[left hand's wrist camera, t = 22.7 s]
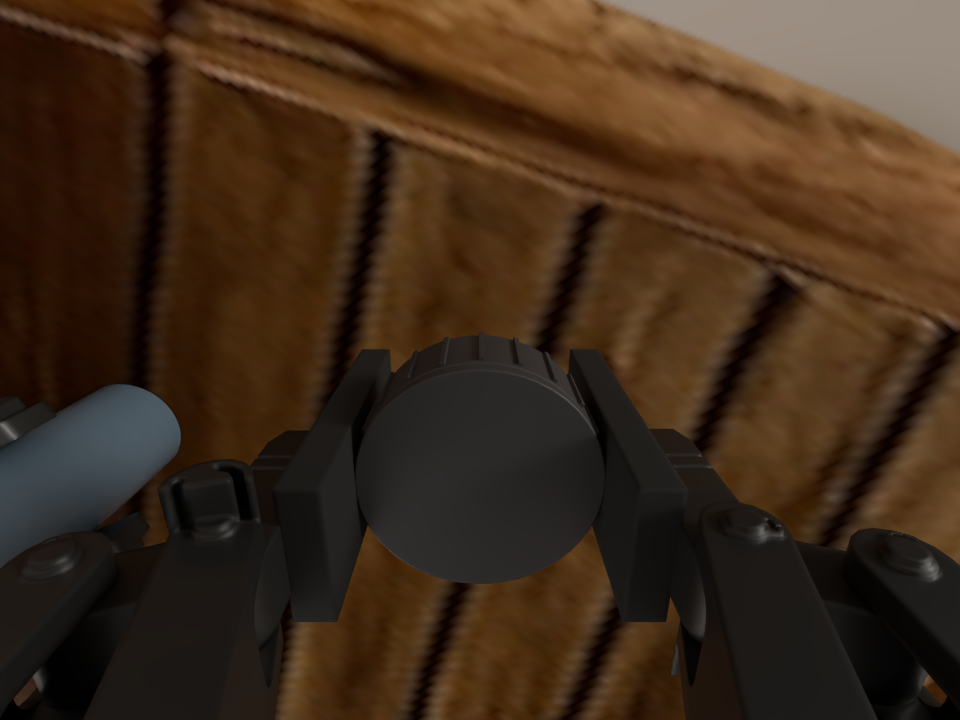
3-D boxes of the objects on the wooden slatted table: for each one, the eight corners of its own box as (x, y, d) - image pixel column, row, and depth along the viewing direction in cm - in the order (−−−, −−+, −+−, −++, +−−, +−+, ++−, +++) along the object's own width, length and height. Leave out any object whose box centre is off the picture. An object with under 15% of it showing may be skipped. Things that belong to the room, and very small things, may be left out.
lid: (632, 441, 12) (662, 494, 10) (473, 557, 13) (472, 624, 11) (488, 283, 11) (490, 309, 9) (326, 428, 12) (296, 479, 10)
